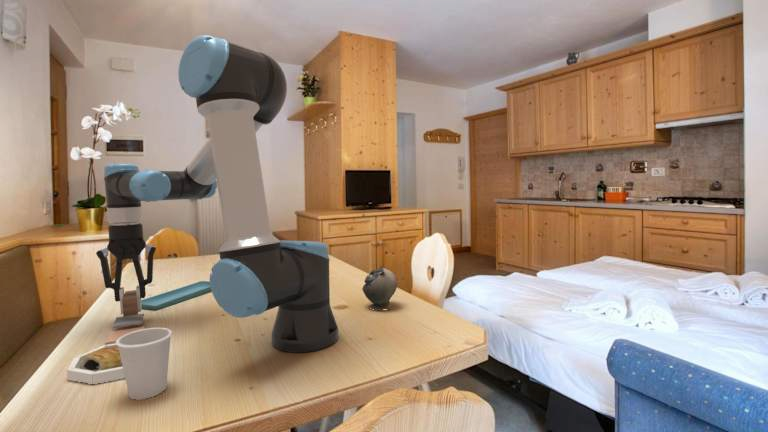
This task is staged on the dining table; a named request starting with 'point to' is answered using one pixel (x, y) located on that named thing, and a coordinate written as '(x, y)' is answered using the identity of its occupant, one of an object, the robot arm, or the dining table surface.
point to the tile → (120, 334)
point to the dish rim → (93, 376)
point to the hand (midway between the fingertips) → (131, 311)
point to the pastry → (102, 360)
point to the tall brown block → (129, 311)
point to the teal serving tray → (176, 295)
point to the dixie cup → (145, 361)
